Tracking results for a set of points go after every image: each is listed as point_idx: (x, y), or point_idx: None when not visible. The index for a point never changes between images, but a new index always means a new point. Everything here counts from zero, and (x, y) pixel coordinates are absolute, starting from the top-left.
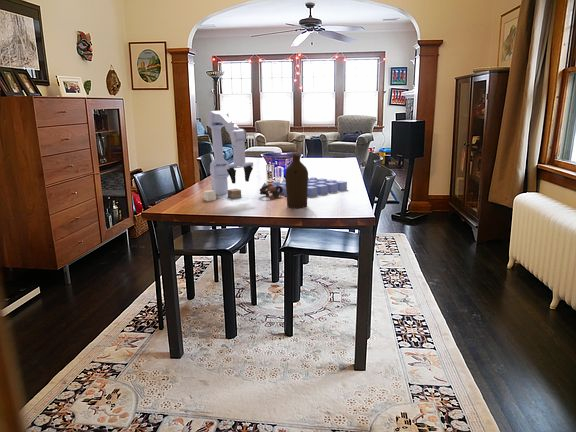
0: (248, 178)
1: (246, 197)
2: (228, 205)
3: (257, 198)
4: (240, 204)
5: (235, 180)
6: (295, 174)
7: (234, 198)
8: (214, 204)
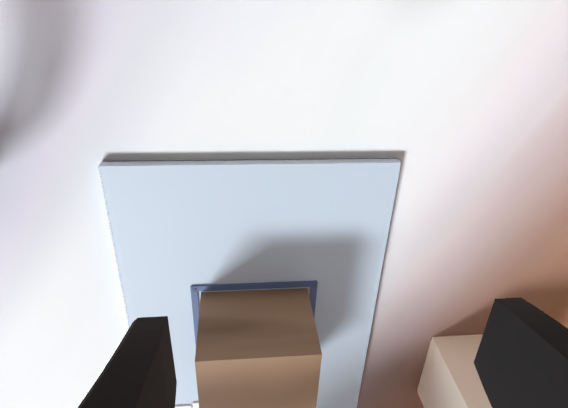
0: (128, 370)
1: (149, 266)
2: (525, 75)
3: (34, 178)
4: (399, 16)
5: (544, 339)
6: None
7: (286, 290)
8: (563, 216)
